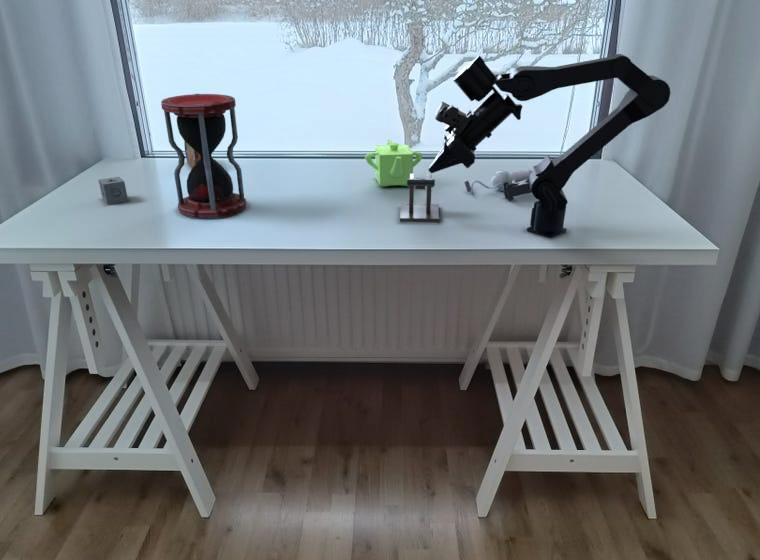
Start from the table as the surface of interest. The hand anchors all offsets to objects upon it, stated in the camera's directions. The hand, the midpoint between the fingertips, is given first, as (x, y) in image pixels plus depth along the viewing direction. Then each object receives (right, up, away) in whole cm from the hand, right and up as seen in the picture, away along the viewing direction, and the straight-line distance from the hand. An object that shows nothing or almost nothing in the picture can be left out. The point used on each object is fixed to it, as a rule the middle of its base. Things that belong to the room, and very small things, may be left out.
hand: (429, 171), depth 141 cm
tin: (-65, +16, +52) cm, 85 cm away
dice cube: (-77, -1, +24) cm, 81 cm away
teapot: (-7, +7, +37) cm, 38 cm away
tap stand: (-1, -7, +14) cm, 16 cm away
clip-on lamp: (+20, +2, +29) cm, 35 cm away
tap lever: (-2, -2, +6) cm, 7 cm away
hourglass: (-51, -4, +18) cm, 55 cm away
